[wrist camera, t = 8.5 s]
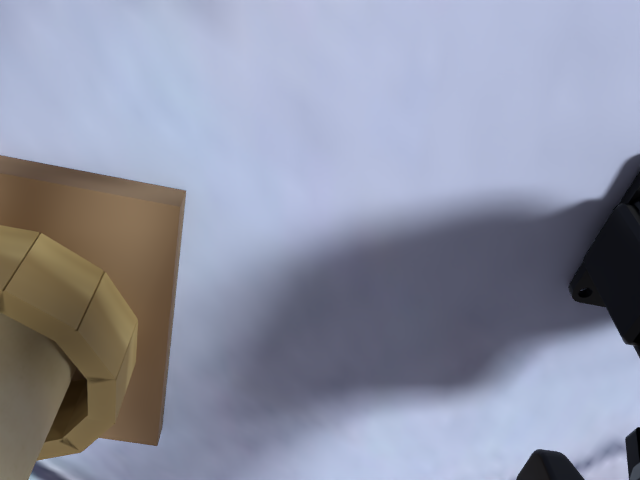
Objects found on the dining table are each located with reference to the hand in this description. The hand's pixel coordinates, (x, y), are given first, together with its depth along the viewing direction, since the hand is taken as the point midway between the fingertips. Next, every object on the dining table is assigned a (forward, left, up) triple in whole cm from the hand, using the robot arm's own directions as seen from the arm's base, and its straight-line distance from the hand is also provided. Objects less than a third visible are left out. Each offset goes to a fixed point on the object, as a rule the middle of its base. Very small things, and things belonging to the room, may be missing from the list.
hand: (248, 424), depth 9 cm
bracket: (+9, +11, -12) cm, 19 cm away
